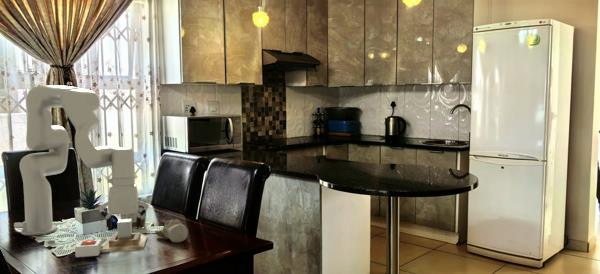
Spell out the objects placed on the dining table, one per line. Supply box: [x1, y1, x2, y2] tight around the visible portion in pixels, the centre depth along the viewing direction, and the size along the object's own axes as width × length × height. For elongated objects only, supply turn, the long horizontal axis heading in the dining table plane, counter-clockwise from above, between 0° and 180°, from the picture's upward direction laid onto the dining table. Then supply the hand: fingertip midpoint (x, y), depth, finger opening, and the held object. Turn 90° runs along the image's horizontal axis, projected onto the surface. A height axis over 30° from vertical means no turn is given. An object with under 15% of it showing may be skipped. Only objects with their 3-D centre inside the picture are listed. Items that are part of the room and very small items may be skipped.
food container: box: [120, 200, 148, 228], centre depth 196 cm, size 12×6×10 cm, turn 84°
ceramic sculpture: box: [154, 217, 189, 243], centre depth 177 cm, size 11×9×15 cm
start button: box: [82, 239, 96, 246], centre depth 161 cm, size 4×4×2 cm
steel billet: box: [116, 218, 133, 240], centre depth 170 cm, size 4×4×8 cm
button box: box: [74, 239, 103, 258], centre depth 161 cm, size 7×7×4 cm
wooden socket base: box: [100, 232, 148, 253], centre depth 170 cm, size 14×14×3 cm
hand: (124, 228), depth 170 cm, fingers open, 9 cm apart
